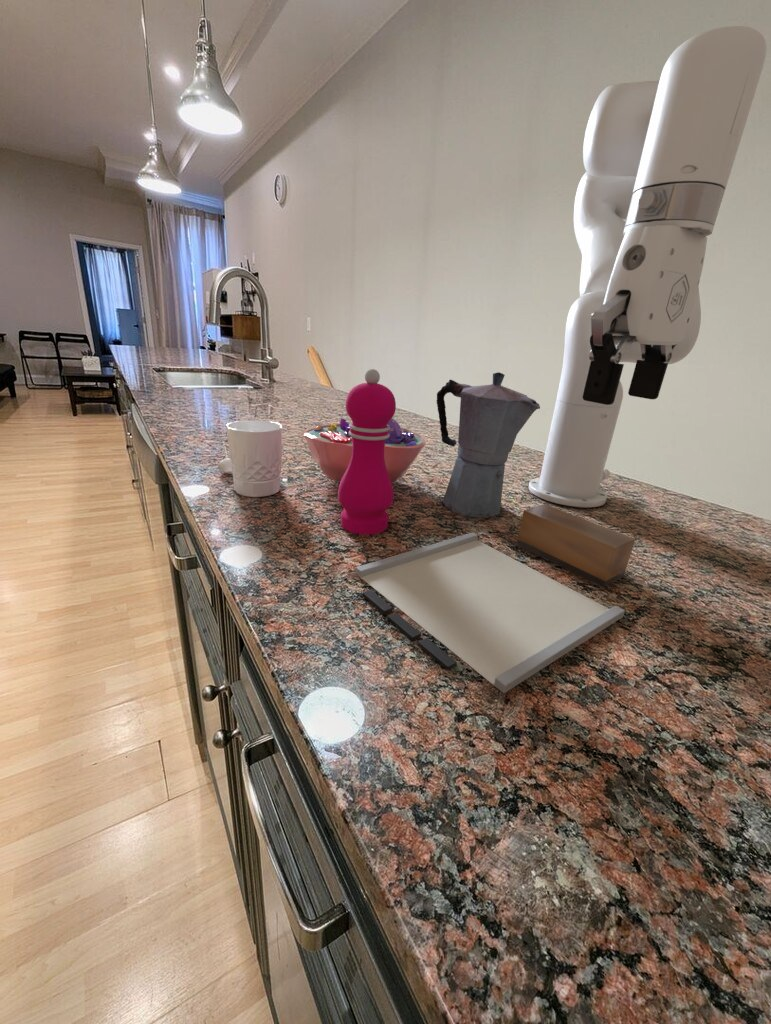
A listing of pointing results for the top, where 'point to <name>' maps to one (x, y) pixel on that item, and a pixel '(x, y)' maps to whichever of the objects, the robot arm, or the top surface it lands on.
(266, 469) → the white cup
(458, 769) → the top surface
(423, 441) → the cell model
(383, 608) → the stroke
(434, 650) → the stroke
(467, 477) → the moka pot
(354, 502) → the pepper mill
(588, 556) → the eraser
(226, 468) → the macaroon
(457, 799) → the top surface
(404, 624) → the stroke
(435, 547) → the memo board
